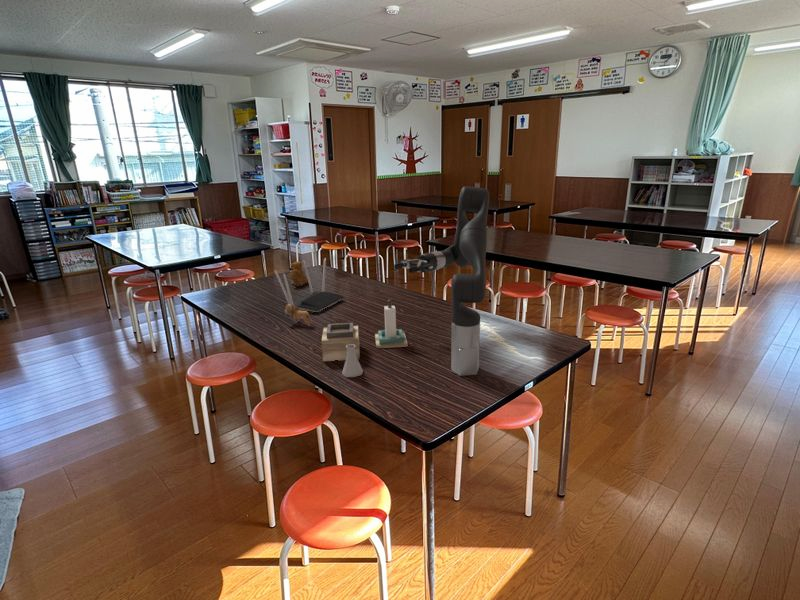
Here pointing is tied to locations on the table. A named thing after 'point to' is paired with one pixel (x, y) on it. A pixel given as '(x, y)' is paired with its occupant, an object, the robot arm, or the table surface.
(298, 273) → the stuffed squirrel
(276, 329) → the table surface
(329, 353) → the upper dock
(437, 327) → the table surface
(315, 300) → the wireless router
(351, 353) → the flask
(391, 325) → the plug
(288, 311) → the lion figurine
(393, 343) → the lower socket
